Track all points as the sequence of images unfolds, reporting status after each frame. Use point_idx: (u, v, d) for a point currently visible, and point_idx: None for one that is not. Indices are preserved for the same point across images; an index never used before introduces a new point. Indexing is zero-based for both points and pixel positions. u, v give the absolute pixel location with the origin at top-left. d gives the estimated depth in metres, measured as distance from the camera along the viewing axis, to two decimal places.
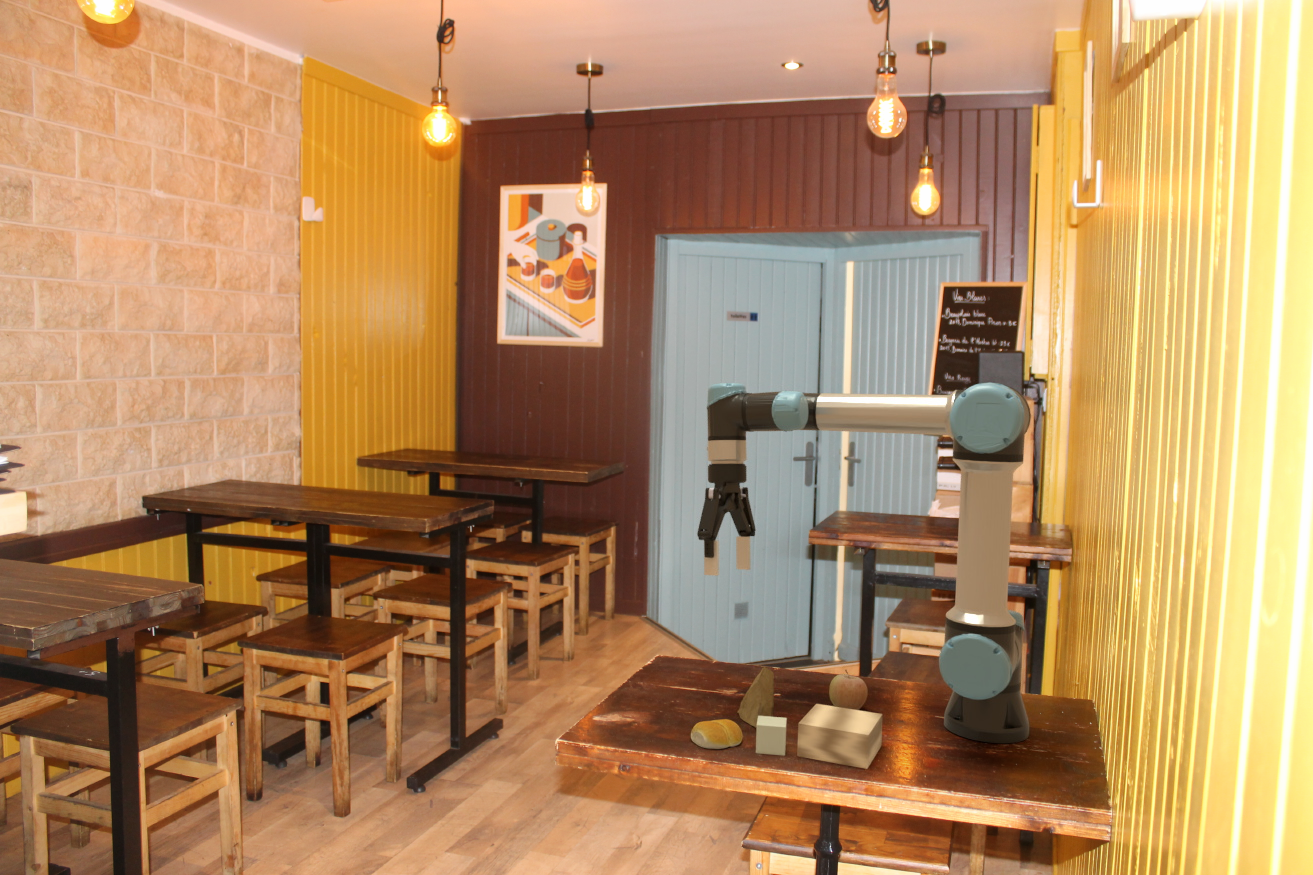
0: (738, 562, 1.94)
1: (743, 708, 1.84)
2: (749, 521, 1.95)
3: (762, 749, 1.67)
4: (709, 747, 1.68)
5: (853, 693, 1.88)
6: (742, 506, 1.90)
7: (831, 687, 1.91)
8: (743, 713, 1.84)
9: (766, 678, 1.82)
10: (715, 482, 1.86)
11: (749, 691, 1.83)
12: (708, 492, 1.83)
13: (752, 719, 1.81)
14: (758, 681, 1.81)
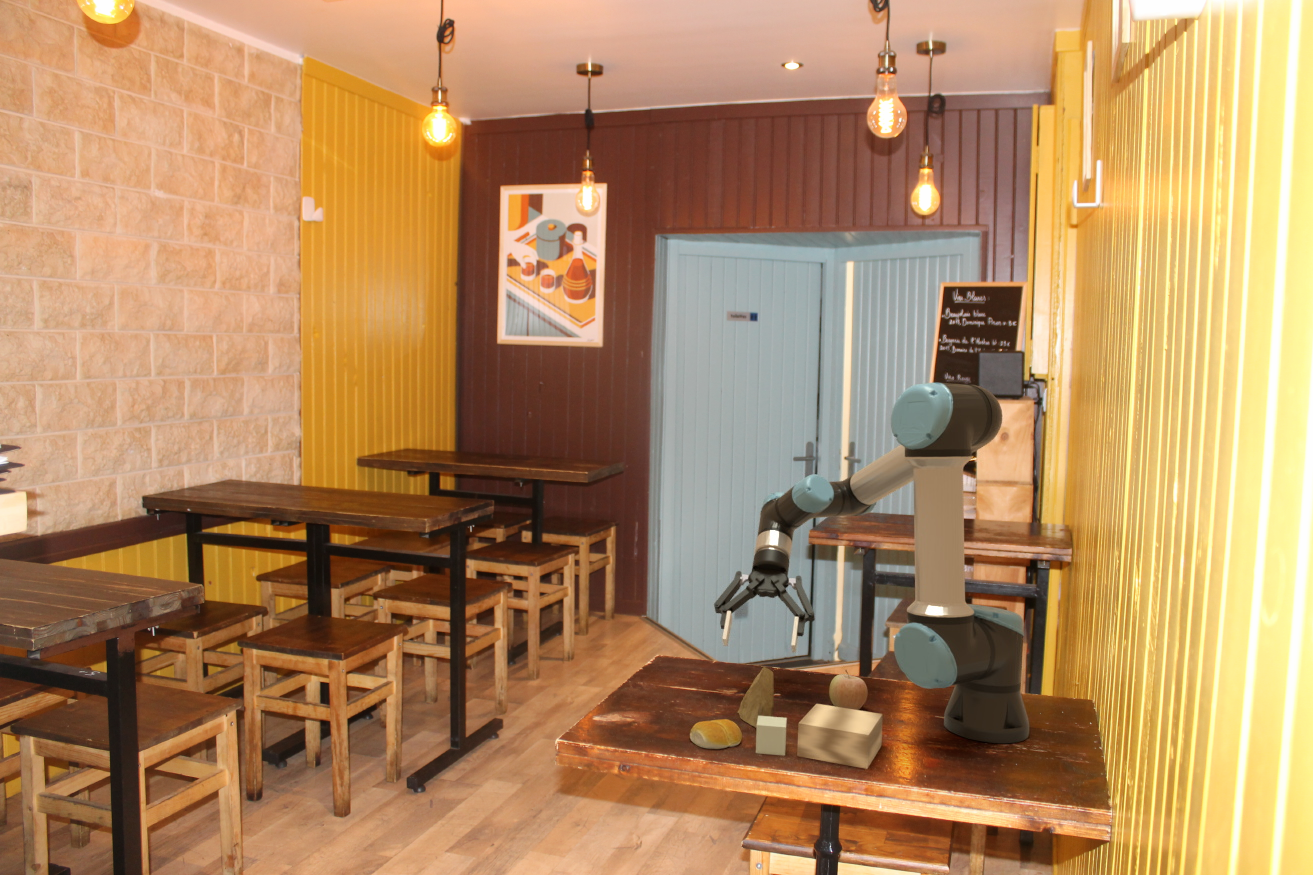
0: None
1: (743, 708, 1.84)
2: (804, 605, 1.94)
3: (762, 749, 1.67)
4: (708, 747, 1.68)
5: (853, 693, 1.88)
6: (781, 588, 1.97)
7: (831, 687, 1.91)
8: (743, 713, 1.84)
9: (765, 678, 1.82)
10: None
11: (749, 691, 1.83)
12: None
13: (752, 719, 1.81)
14: (758, 681, 1.81)
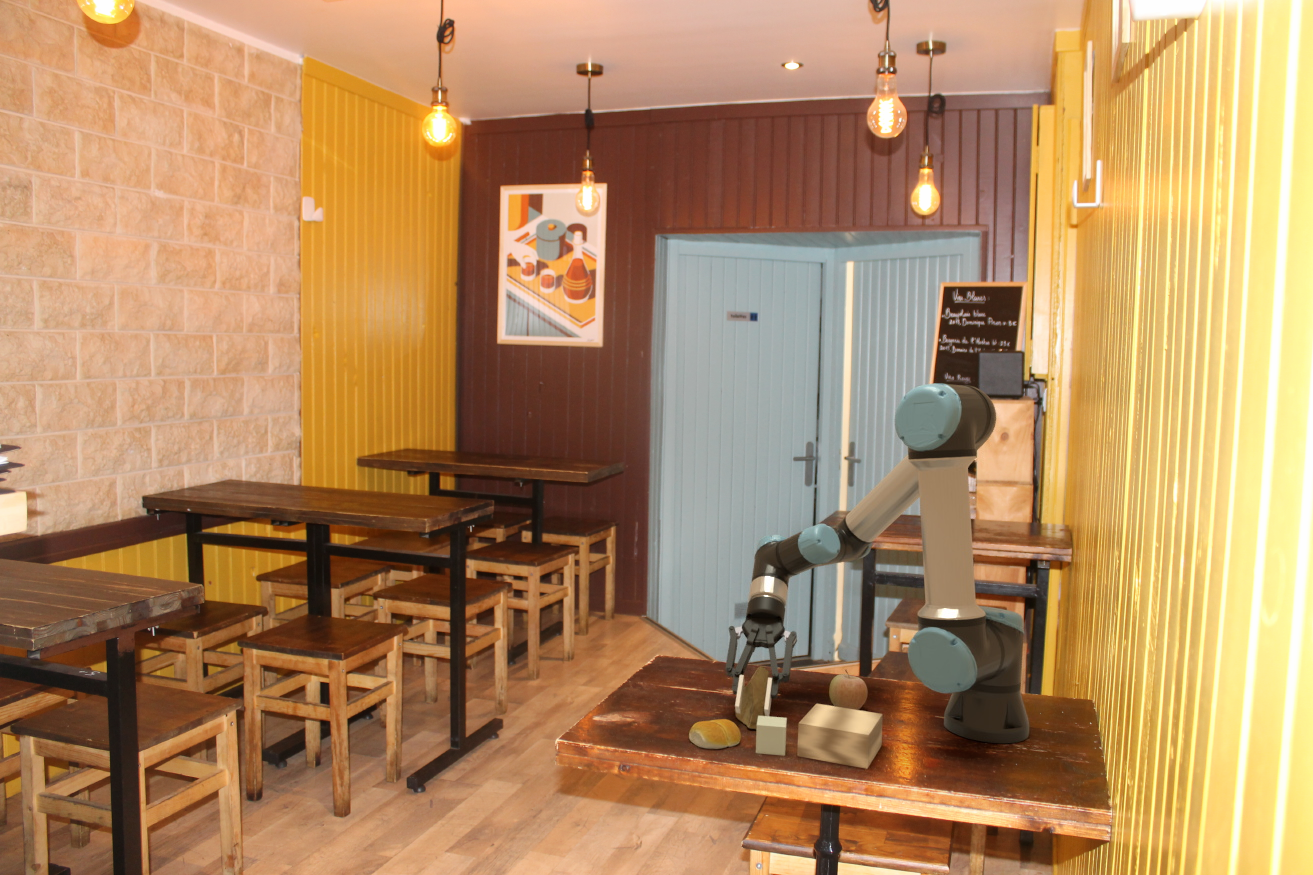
0: None
1: None
2: None
3: (762, 749, 1.67)
4: (707, 747, 1.68)
5: (853, 693, 1.88)
6: (770, 640, 1.86)
7: (831, 687, 1.91)
8: None
9: (760, 677, 1.83)
10: None
11: (744, 689, 1.84)
12: None
13: (745, 718, 1.81)
14: (751, 680, 1.82)
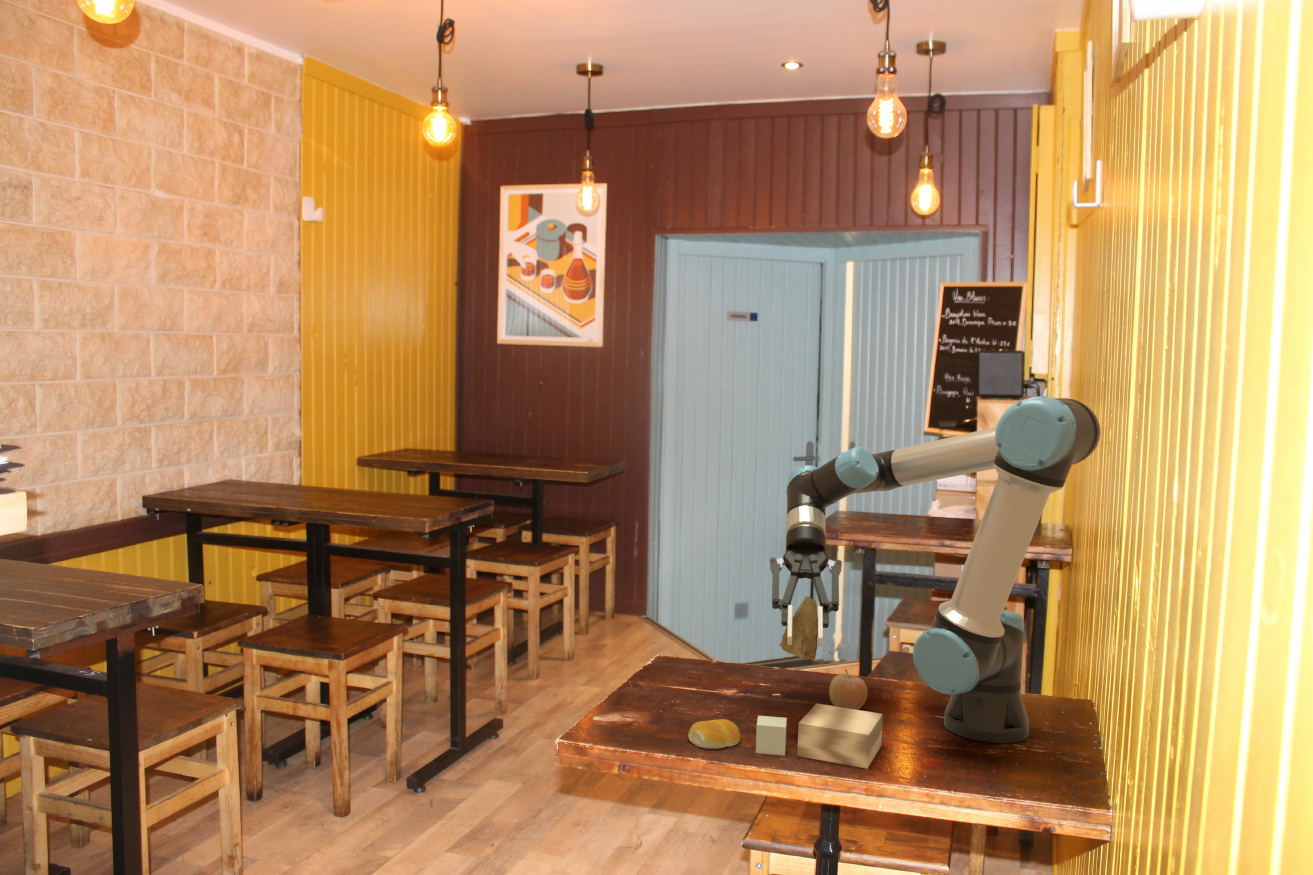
0: None
1: (785, 639, 1.76)
2: (832, 591, 1.76)
3: (762, 749, 1.67)
4: (707, 747, 1.68)
5: (853, 693, 1.88)
6: (816, 570, 1.78)
7: (831, 687, 1.91)
8: (786, 644, 1.75)
9: (809, 607, 1.74)
10: None
11: None
12: (770, 567, 1.82)
13: (796, 649, 1.72)
14: (801, 609, 1.73)
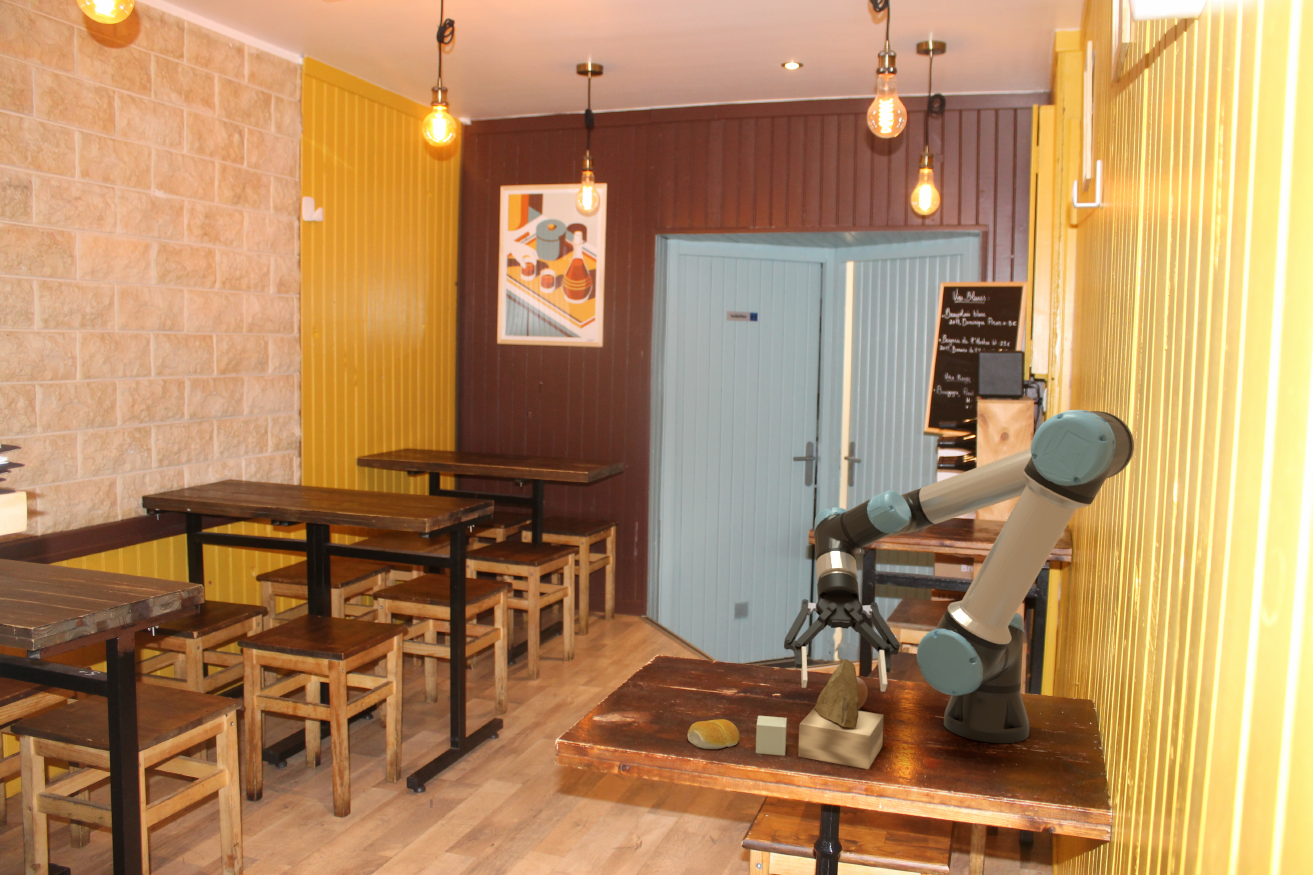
0: (880, 682, 1.67)
1: (822, 704, 1.70)
2: (886, 636, 1.71)
3: (762, 749, 1.67)
4: (706, 747, 1.68)
5: None
6: (858, 617, 1.73)
7: None
8: (823, 709, 1.69)
9: (848, 671, 1.68)
10: None
11: (829, 685, 1.69)
12: None
13: (835, 715, 1.66)
14: (841, 674, 1.67)
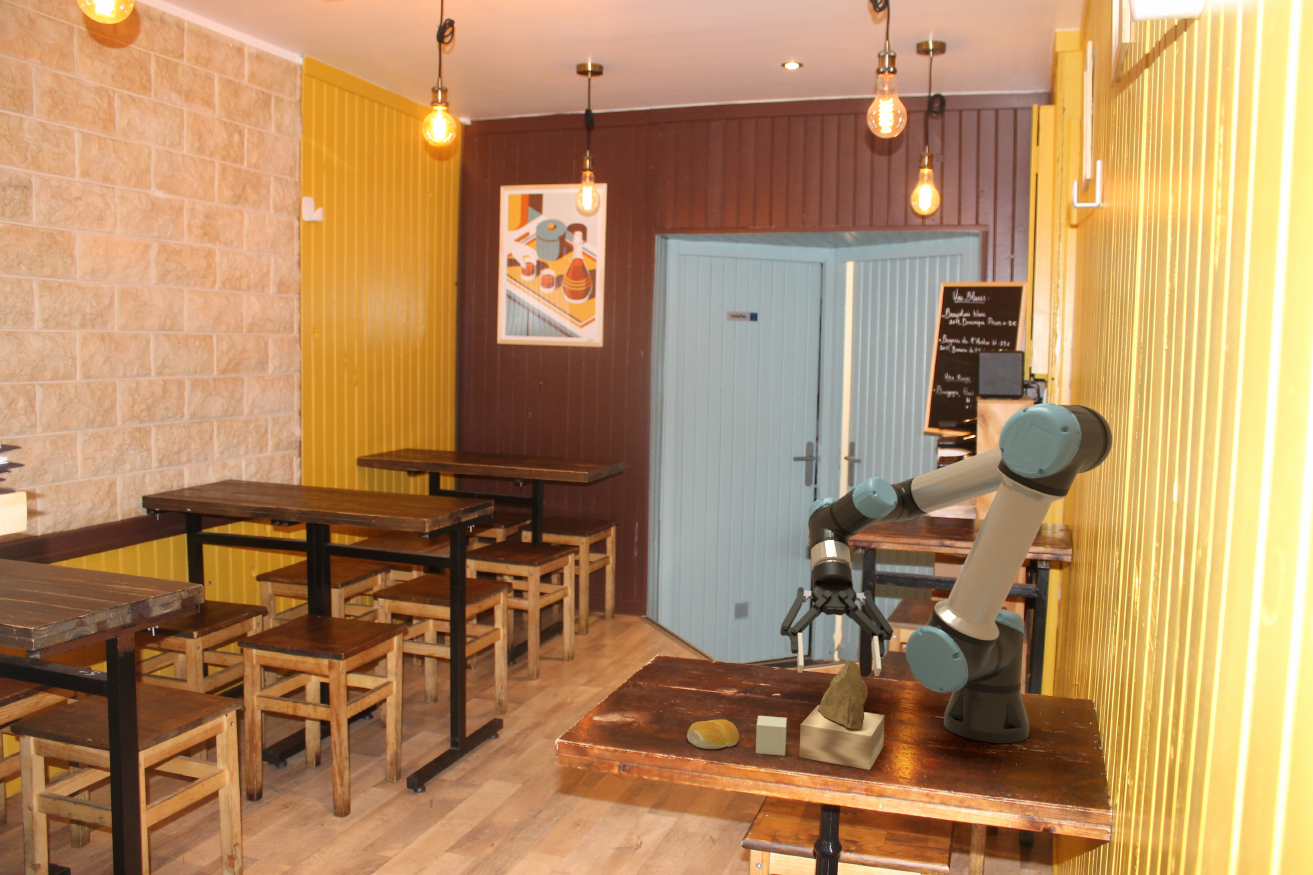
0: (874, 667, 1.73)
1: (827, 705, 1.69)
2: (880, 623, 1.77)
3: (762, 749, 1.67)
4: (705, 747, 1.68)
5: None
6: (852, 604, 1.79)
7: None
8: (827, 710, 1.68)
9: (853, 672, 1.68)
10: None
11: (834, 686, 1.68)
12: None
13: (840, 717, 1.66)
14: (846, 675, 1.66)
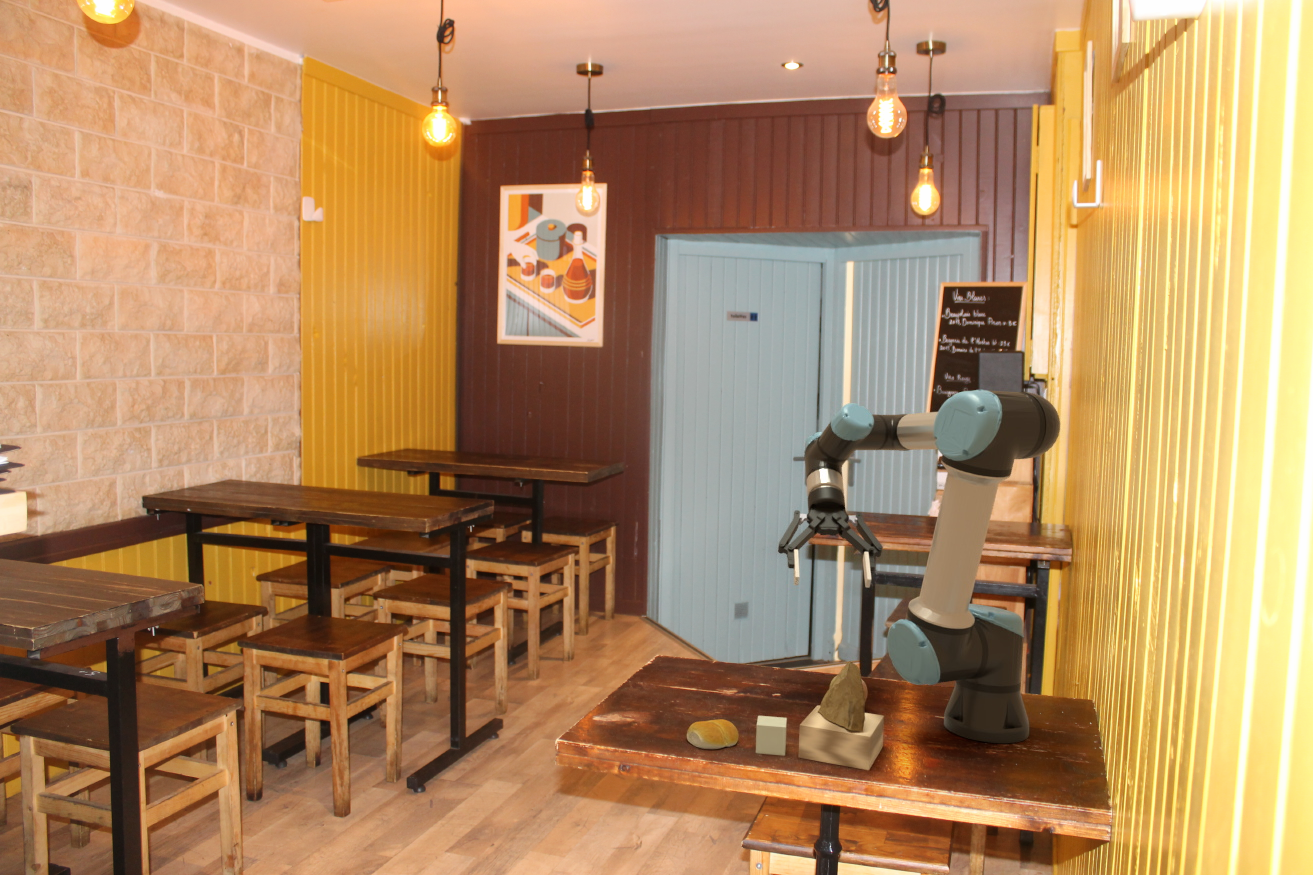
0: (865, 580, 1.87)
1: (827, 707, 1.69)
2: (870, 540, 1.91)
3: (762, 749, 1.67)
4: (705, 747, 1.68)
5: None
6: (845, 524, 1.93)
7: None
8: (828, 712, 1.68)
9: (853, 674, 1.67)
10: (808, 512, 1.98)
11: (834, 688, 1.68)
12: (793, 518, 1.97)
13: (841, 719, 1.65)
14: (846, 677, 1.66)
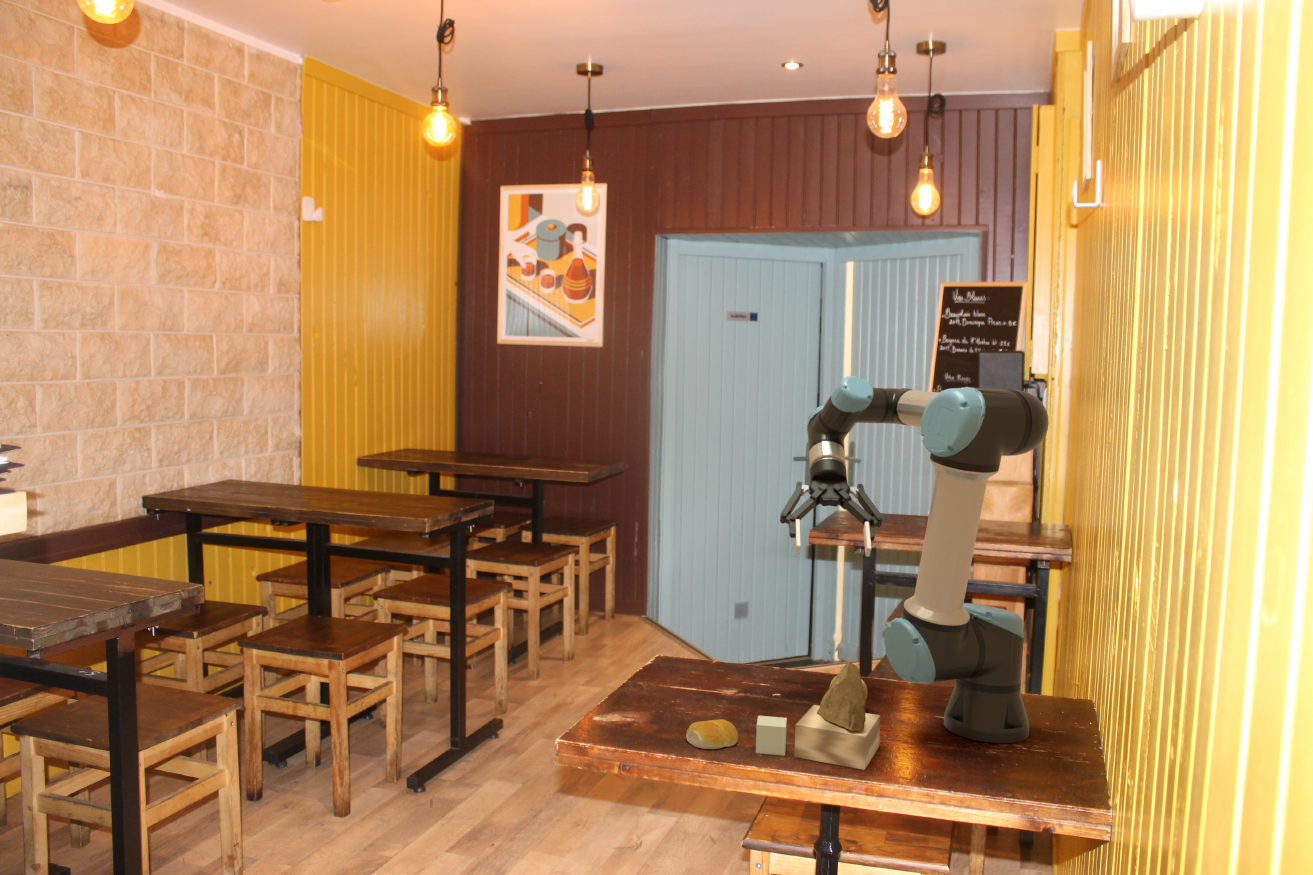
0: (865, 549, 1.90)
1: (827, 708, 1.68)
2: (871, 511, 1.94)
3: (762, 749, 1.67)
4: (704, 747, 1.68)
5: None
6: (846, 495, 1.96)
7: None
8: (828, 713, 1.67)
9: (853, 674, 1.67)
10: (810, 483, 2.01)
11: (834, 689, 1.67)
12: None
13: (841, 719, 1.64)
14: (847, 677, 1.65)
